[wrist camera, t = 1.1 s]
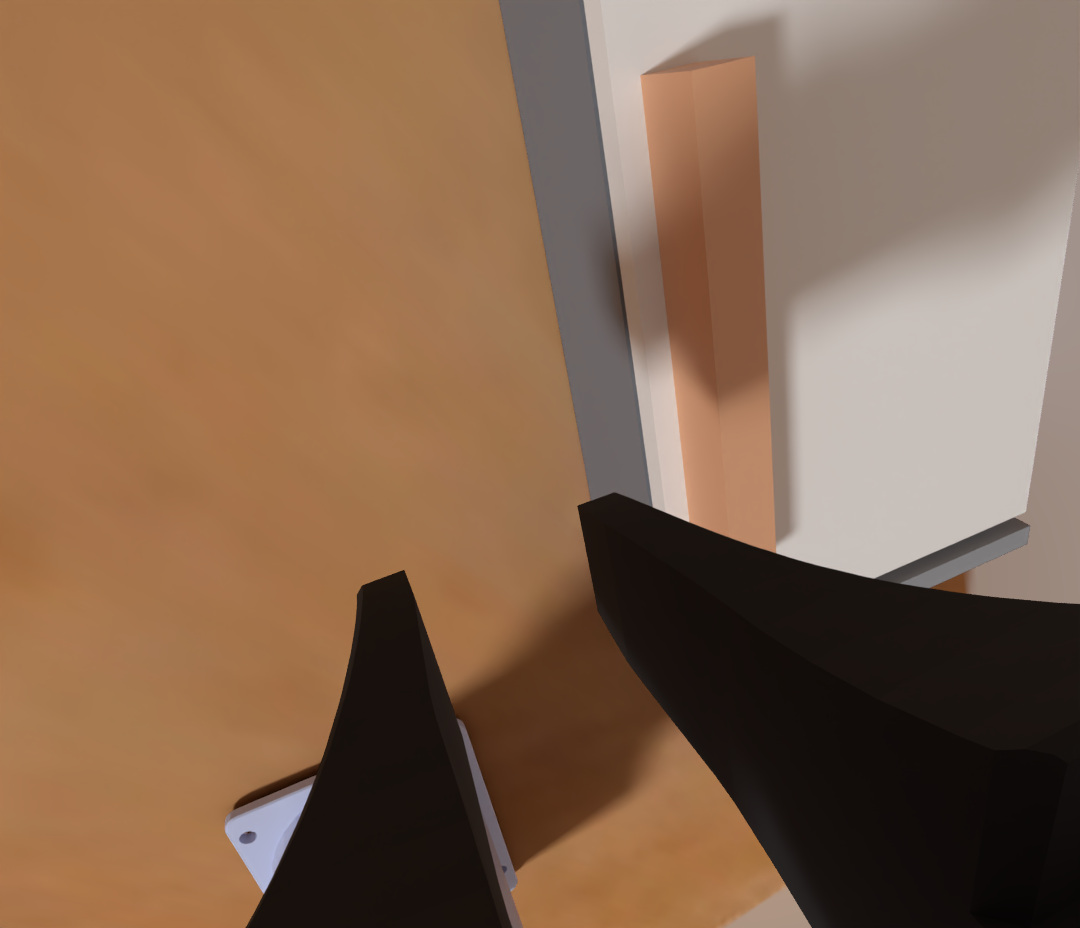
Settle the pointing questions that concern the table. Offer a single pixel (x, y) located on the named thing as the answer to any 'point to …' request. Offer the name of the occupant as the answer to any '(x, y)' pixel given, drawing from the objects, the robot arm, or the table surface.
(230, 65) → the table surface
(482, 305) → the table surface
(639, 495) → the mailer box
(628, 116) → the lid
